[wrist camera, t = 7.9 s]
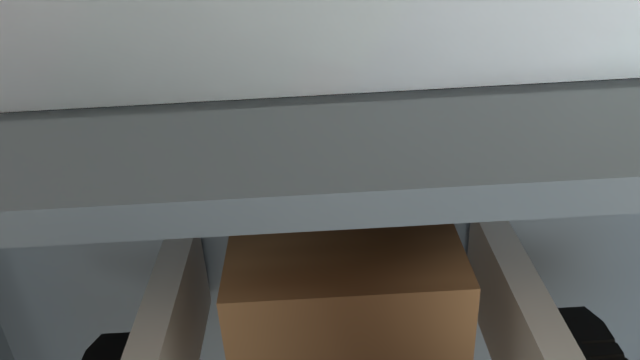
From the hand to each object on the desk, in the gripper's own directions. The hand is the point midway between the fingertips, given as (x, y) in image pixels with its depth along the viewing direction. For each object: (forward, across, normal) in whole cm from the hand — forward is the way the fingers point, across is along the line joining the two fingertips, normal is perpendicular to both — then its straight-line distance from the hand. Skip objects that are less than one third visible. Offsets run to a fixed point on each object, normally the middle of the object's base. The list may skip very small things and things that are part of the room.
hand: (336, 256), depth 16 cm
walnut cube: (0, 0, 0) cm, 0 cm away
